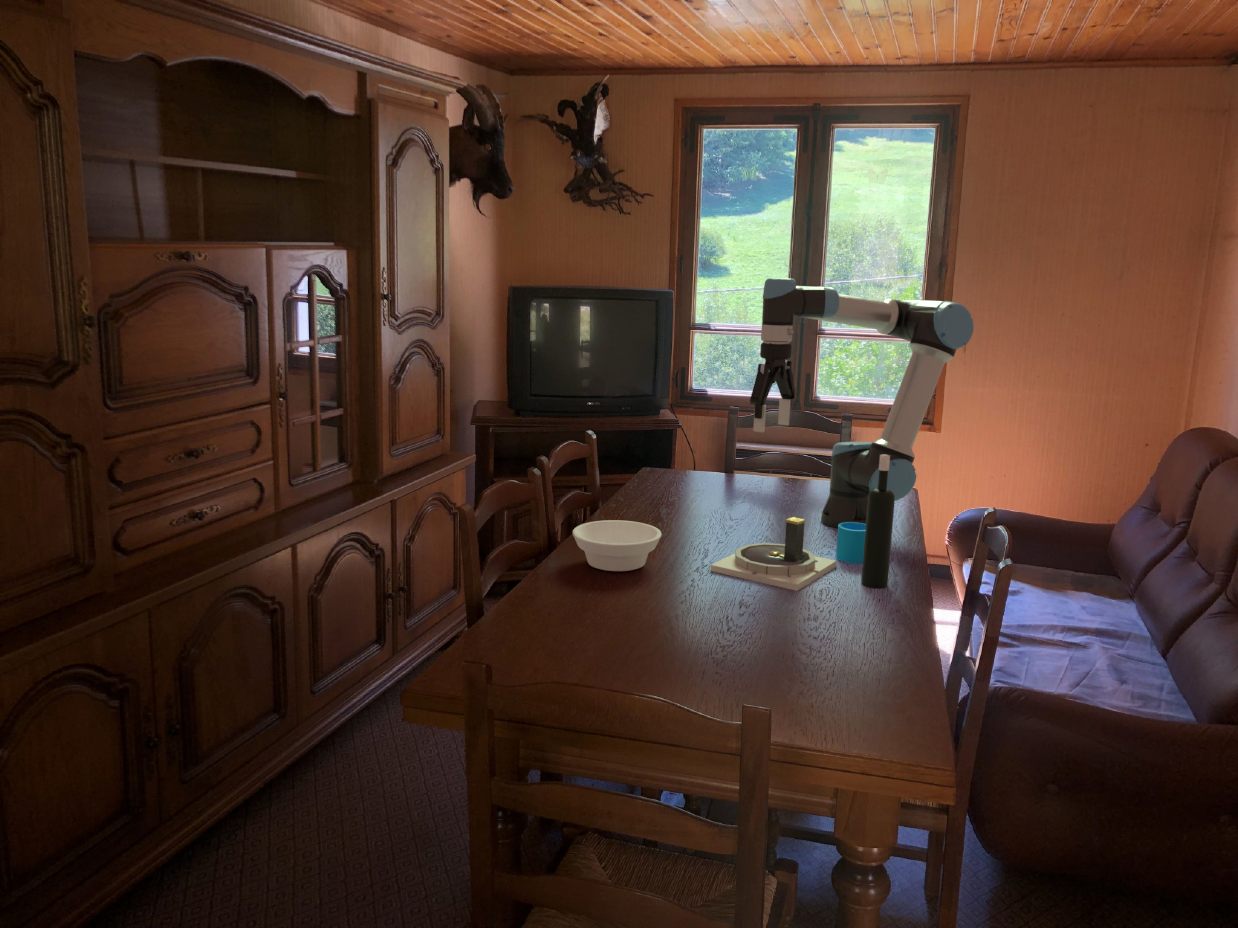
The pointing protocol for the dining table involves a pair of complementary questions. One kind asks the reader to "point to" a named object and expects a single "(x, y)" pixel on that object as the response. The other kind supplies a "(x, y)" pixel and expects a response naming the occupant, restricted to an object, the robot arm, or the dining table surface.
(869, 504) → the wine bottle
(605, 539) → the bowl
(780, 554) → the dial
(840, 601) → the dining table surface
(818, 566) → the dial board
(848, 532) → the mug
